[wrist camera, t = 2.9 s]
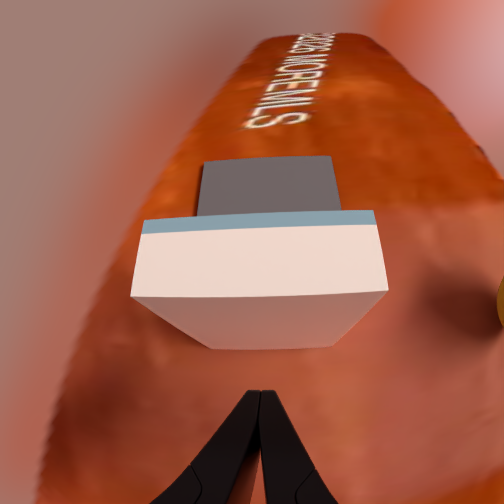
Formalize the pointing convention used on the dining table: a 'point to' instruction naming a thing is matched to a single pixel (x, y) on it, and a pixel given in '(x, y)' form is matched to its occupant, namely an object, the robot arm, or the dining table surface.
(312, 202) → the mat
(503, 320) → the lemon
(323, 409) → the dining table surface
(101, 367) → the dining table surface
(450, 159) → the dining table surface
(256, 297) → the white rectangular block
